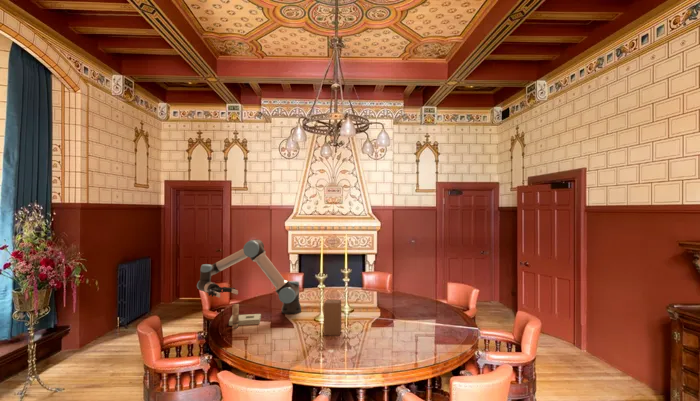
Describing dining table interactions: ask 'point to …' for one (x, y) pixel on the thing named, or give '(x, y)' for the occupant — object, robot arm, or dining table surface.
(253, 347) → the dining table surface
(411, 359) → the dining table surface
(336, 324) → the block
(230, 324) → the board
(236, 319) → the peg
